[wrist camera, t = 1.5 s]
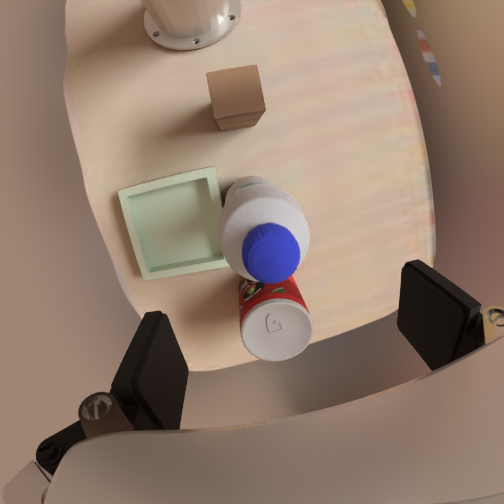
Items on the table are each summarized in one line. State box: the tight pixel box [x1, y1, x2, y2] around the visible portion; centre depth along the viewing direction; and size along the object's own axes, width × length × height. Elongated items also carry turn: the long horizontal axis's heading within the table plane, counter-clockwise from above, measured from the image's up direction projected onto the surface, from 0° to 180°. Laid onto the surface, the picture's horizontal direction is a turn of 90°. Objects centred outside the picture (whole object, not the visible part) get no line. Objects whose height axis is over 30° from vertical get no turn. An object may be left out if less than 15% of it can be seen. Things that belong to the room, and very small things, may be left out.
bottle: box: [217, 176, 310, 284], centre depth 24 cm, size 7×7×20 cm
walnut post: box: [206, 65, 266, 131], centre depth 24 cm, size 4×4×12 cm
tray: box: [118, 166, 230, 281], centre depth 33 cm, size 12×12×2 cm
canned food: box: [239, 275, 313, 361], centre depth 33 cm, size 8×8×11 cm
